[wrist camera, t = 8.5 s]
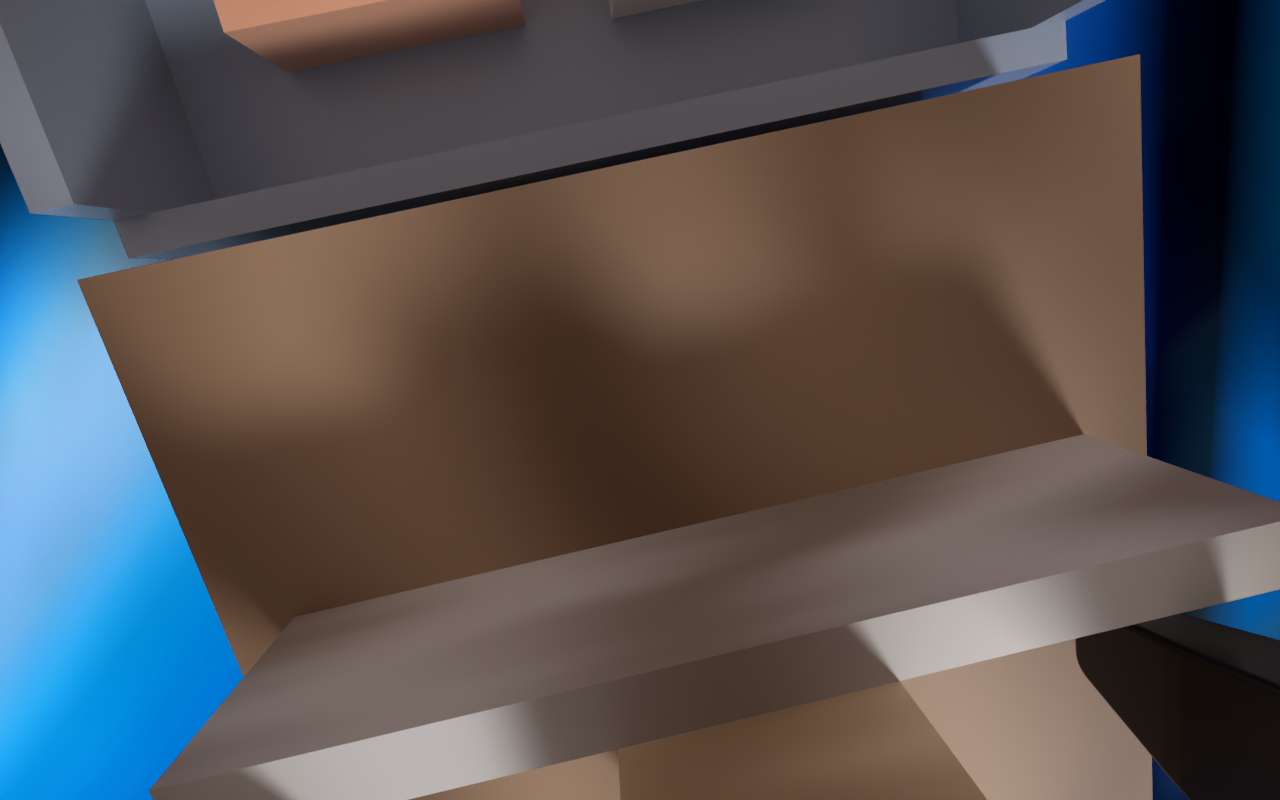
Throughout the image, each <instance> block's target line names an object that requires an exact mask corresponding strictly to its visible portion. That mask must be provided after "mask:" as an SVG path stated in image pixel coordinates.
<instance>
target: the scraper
mask: <svg viewBox="0 0 1280 800" xmlns="http://www.w3.org/2000/svg"><path fill="white" fill-rule="evenodd" d="M1279 589H1280V502H1277V501H1274V500H1272V499H1269V498H1266V497H1263V496H1260V495H1257V494H1254V493H1251V492H1249V491H1246V490H1243V489H1240V488H1237V487H1234V486H1231V485H1228V484H1226V483H1223V482H1220V481H1217V480H1214V479H1211V478H1208V477H1205V476H1203V475H1200V474H1197V473H1194V472H1191V471H1188V470H1185V469H1182V468H1180V467H1177V466H1174V465H1171V464H1168V463H1165V462H1162V461H1159V460H1157V459H1154V458H1151V457H1148V456H1145V455H1142V454H1139V453H1136V452H1134V451H1131V450H1128V449H1125V448H1122V447H1119V446H1116V445H1113V444H1111V443H1108V442H1105V441H1102V440H1099V439H1096V438H1093V437H1090V436H1088V435H1085V434H1082V435H1078V436H1074V437H1069V438H1065V439H1061V440H1056V441H1052V442H1048V443H1043V444H1039V445H1035V446H1030V447H1026V448H1022V449H1018V450H1013V451H1009V452H1005V453H1000V454H996V455H992V456H987V457H983V458H979V459H974V460H970V461H966V462H961V463H957V464H953V465H948V466H944V467H940V468H935V469H931V470H927V471H923V472H918V473H914V474H910V475H905V476H901V477H897V478H892V479H888V480H884V481H879V482H875V483H871V484H866V485H862V486H858V487H853V488H849V489H845V490H840V491H836V492H832V493H828V494H823V495H819V496H815V497H810V498H806V499H802V500H797V501H793V502H789V503H784V504H780V505H776V506H771V507H767V508H763V509H758V510H754V511H750V512H746V513H741V514H737V515H733V516H728V517H724V518H720V519H715V520H711V521H707V522H702V523H698V524H694V525H689V526H685V527H681V528H676V529H672V530H668V531H663V532H659V533H655V534H651V535H646V536H642V537H638V538H633V539H629V540H625V541H620V542H616V543H612V544H607V545H603V546H599V547H594V548H590V549H586V550H581V551H577V552H573V553H569V554H564V555H560V556H556V557H551V558H547V559H543V560H538V561H534V562H530V563H525V564H521V565H517V566H512V567H508V568H504V569H499V570H495V571H491V572H486V573H482V574H478V575H474V576H469V577H465V578H461V579H456V580H452V581H448V582H443V583H439V584H435V585H430V586H426V587H422V588H417V589H413V590H409V591H404V592H400V593H396V594H392V595H387V596H383V597H379V598H374V599H370V600H366V601H361V602H357V603H353V604H348V605H344V606H340V607H335V608H331V609H327V610H322V611H318V612H314V613H309V614H305V615H301V616H297V617H294V618H293V619H292V621H291V622H290V623H289V624H288V625H287V627H286V628H285V629H284V630H283V631H282V633H281V634H280V635H279V636H278V637H277V639H276V640H275V641H274V642H273V643H272V645H271V646H270V647H269V648H268V649H267V650H266V652H265V653H264V654H263V655H262V656H261V658H260V659H259V660H258V661H257V662H256V664H255V665H254V666H253V667H252V668H251V670H250V671H249V672H248V673H247V674H246V676H245V677H244V678H243V679H242V680H241V681H240V683H239V684H238V685H237V686H236V687H235V689H234V690H233V691H232V692H231V693H230V695H229V696H228V697H227V698H226V699H225V701H224V702H223V703H222V704H221V705H220V707H219V708H218V709H217V710H216V711H215V712H214V714H213V715H212V716H211V717H210V718H209V720H208V721H207V722H206V723H205V724H204V726H203V727H202V728H201V729H200V730H199V732H198V733H197V734H196V735H195V736H194V738H193V739H192V740H191V741H190V742H189V744H188V745H187V746H186V747H185V748H184V749H183V751H182V752H181V753H180V754H179V755H178V757H177V758H176V759H175V760H174V761H173V763H172V764H171V765H170V766H169V767H168V769H167V770H166V771H165V772H164V773H163V775H162V776H161V777H160V778H159V779H158V780H157V782H156V783H155V784H154V785H153V786H152V788H151V789H150V790H149V792H150V794H151V796H152V798H153V800H409V799H413V798H417V797H422V796H426V795H430V794H434V793H438V792H442V791H446V790H451V789H455V788H459V787H463V786H467V785H471V784H475V783H480V782H484V781H488V780H492V779H496V778H500V777H504V776H509V775H513V774H517V773H521V772H525V771H529V770H533V769H538V768H542V767H546V766H550V765H554V764H558V763H562V762H567V761H571V760H575V759H579V758H583V757H587V756H591V755H596V754H600V753H604V752H608V751H612V750H616V749H618V762H619V781H620V799H621V800H987V799H986V797H985V796H984V795H983V793H982V792H981V791H980V789H979V788H978V786H977V785H976V784H975V782H974V781H973V780H972V778H971V777H970V776H969V774H968V773H967V772H966V770H965V769H964V767H963V766H962V765H961V763H960V762H959V761H958V759H957V758H956V757H955V755H954V754H953V753H952V751H951V750H950V748H949V747H948V746H947V744H946V743H945V742H944V740H943V739H942V738H941V736H940V735H939V734H938V732H937V731H936V729H935V728H934V727H933V725H932V724H931V723H930V721H929V720H928V719H927V717H926V716H925V715H924V713H923V712H922V711H921V709H920V708H919V706H918V705H917V704H916V702H915V701H914V700H913V698H912V697H911V696H910V694H909V693H908V692H907V690H906V689H905V687H904V686H903V685H902V683H901V682H900V681H902V680H906V679H910V678H914V677H919V676H923V675H927V674H931V673H935V672H939V671H943V670H948V669H952V668H956V667H960V666H964V665H968V664H972V663H977V662H981V661H985V660H989V659H993V658H997V657H1001V656H1006V655H1010V654H1014V653H1018V652H1022V651H1026V650H1030V649H1034V648H1039V647H1043V646H1047V645H1051V644H1055V643H1059V642H1063V641H1068V640H1072V639H1076V638H1080V637H1084V636H1088V635H1092V634H1097V633H1101V632H1105V631H1109V630H1113V629H1117V628H1121V627H1126V626H1130V625H1134V624H1138V623H1142V622H1146V621H1150V620H1155V619H1159V618H1163V617H1167V616H1171V615H1175V614H1179V613H1184V612H1188V611H1192V610H1196V609H1200V608H1204V607H1208V606H1213V605H1217V604H1221V603H1225V602H1229V601H1233V600H1237V599H1242V598H1246V597H1250V596H1254V595H1258V594H1262V593H1266V592H1271V591H1275V590H1279Z"/></svg>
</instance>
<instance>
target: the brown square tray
mask: <svg viewBox="0 0 1280 800" xmlns="http://www.w3.org/2000/svg"><path fill="white" fill-rule="evenodd" d="M77 281H78V283H79V285H80V288H81V290H82V293H83V295H84V297H85V300H86V302H87V305H88V307H89V309H90V312H91V314H92V316H93V319H94V321H95V324H96V326H97V328H98V331H99V333H100V336H101V338H102V340H103V343H104V345H105V347H106V350H107V352H108V355H109V357H110V359H111V362H112V364H113V366H114V369H115V371H116V374H117V376H118V378H119V381H120V383H121V386H122V388H123V390H124V393H125V395H126V397H127V400H128V402H129V405H130V407H131V409H132V412H133V414H134V417H135V419H136V421H137V424H138V426H139V428H140V431H141V433H142V436H143V438H144V440H145V443H146V445H147V447H148V450H149V452H150V455H151V457H152V459H153V462H154V464H155V467H156V469H157V471H158V474H159V476H160V478H161V481H162V483H163V486H164V488H165V490H166V493H167V495H168V497H169V500H170V502H171V505H172V507H173V509H174V512H175V514H176V517H177V519H178V521H179V524H180V526H181V528H182V531H183V533H184V536H185V538H186V540H187V543H188V545H189V548H190V550H191V552H192V555H193V557H194V559H195V562H196V564H197V567H198V569H199V571H200V574H201V576H202V578H203V581H204V583H205V586H206V588H207V590H208V593H209V595H210V598H211V600H212V602H213V605H214V607H215V609H216V612H217V614H218V617H219V619H220V621H221V624H222V626H223V628H224V631H225V633H226V636H227V638H228V640H229V643H230V645H231V648H232V650H233V652H234V655H235V657H236V659H237V662H238V664H239V667H240V669H241V671H242V674H243V676H244V677H245V676H246V674H247V673H248V672H249V671H250V670H251V668H252V667H253V666H254V665H255V664H256V662H257V661H258V660H259V659H260V658H261V656H262V655H263V654H264V653H265V652H266V650H267V649H268V648H269V647H270V646H271V645H272V643H273V642H274V641H275V640H276V639H277V637H278V636H279V635H280V634H281V633H282V631H283V630H284V629H285V628H286V627H287V625H288V624H289V623H290V622H291V621H292V619H293V618H294V617H297V616H301V615H305V614H309V613H314V612H318V611H322V610H327V609H331V608H335V607H340V606H344V605H348V604H353V603H357V602H361V601H366V600H370V599H374V598H379V597H383V596H387V595H392V594H396V593H400V592H404V591H409V590H413V589H417V588H422V587H426V586H430V585H435V584H439V583H443V582H448V581H452V580H456V579H461V578H465V577H469V576H474V575H478V574H482V573H486V572H491V571H495V570H499V569H504V568H508V567H512V566H517V565H521V564H525V563H530V562H534V561H538V560H543V559H547V558H551V557H556V556H560V555H564V554H569V553H573V552H577V551H581V550H586V549H590V548H594V547H599V546H603V545H607V544H612V543H616V542H620V541H625V540H629V539H633V538H638V537H642V536H646V535H651V534H655V533H659V532H663V531H668V530H672V529H676V528H681V527H685V526H689V525H694V524H698V523H702V522H707V521H711V520H715V519H720V518H724V517H728V516H733V515H737V514H741V513H746V512H750V511H754V510H758V509H763V508H767V507H771V506H776V505H780V504H784V503H789V502H793V501H797V500H802V499H806V498H810V497H815V496H819V495H823V494H828V493H832V492H836V491H840V490H845V489H849V488H853V487H858V486H862V485H866V484H871V483H875V482H879V481H884V480H888V479H892V478H897V477H901V476H905V475H910V474H914V473H918V472H923V471H927V470H931V469H935V468H940V467H944V466H948V465H953V464H957V463H961V462H966V461H970V460H974V459H979V458H983V457H987V456H992V455H996V454H1000V453H1005V452H1009V451H1013V450H1018V449H1022V448H1026V447H1030V446H1035V445H1039V444H1043V443H1048V442H1052V441H1056V440H1061V439H1065V438H1069V437H1074V436H1078V435H1082V434H1085V435H1088V436H1090V437H1093V438H1096V439H1099V440H1102V441H1105V442H1108V443H1111V444H1113V445H1116V446H1119V447H1122V448H1125V449H1128V450H1131V451H1134V452H1136V453H1139V454H1142V455H1145V456H1147V441H1146V381H1145V320H1144V260H1143V200H1142V139H1141V79H1140V54H1138V55H1133V56H1129V57H1124V58H1119V59H1115V60H1110V61H1105V62H1100V63H1096V64H1091V65H1086V66H1082V67H1077V68H1072V69H1067V70H1063V71H1058V72H1053V73H1049V74H1044V75H1039V76H1035V77H1030V78H1025V79H1020V80H1016V81H1011V82H1006V83H1002V84H997V85H992V86H987V87H983V88H978V89H973V90H969V91H964V92H959V93H955V94H950V95H945V96H940V97H936V98H931V99H926V100H922V101H917V102H912V103H907V104H903V105H898V106H893V107H889V108H884V109H879V110H875V111H870V112H865V113H860V114H856V115H851V116H846V117H842V118H837V119H832V120H827V121H823V122H818V123H813V124H809V125H804V126H799V127H795V128H790V129H785V130H780V131H776V132H771V133H766V134H762V135H757V136H752V137H747V138H743V139H738V140H733V141H729V142H724V143H719V144H714V145H710V146H705V147H700V148H696V149H691V150H686V151H682V152H677V153H672V154H667V155H663V156H658V157H653V158H649V159H644V160H639V161H634V162H630V163H625V164H620V165H616V166H611V167H606V168H602V169H597V170H592V171H587V172H583V173H578V174H573V175H569V176H564V177H559V178H554V179H550V180H545V181H540V182H536V183H531V184H526V185H522V186H517V187H512V188H507V189H503V190H498V191H493V192H489V193H484V194H479V195H474V196H470V197H465V198H460V199H456V200H451V201H446V202H442V203H437V204H432V205H427V206H423V207H418V208H413V209H409V210H404V211H399V212H394V213H390V214H385V215H380V216H376V217H371V218H366V219H362V220H357V221H352V222H347V223H343V224H338V225H333V226H329V227H324V228H319V229H314V230H310V231H305V232H300V233H296V234H291V235H286V236H281V237H277V238H272V239H267V240H263V241H258V242H253V243H249V244H244V245H239V246H234V247H230V248H225V249H220V250H216V251H211V252H206V253H201V254H197V255H192V256H187V257H183V258H178V259H173V260H169V261H164V262H159V263H154V264H150V265H145V266H140V267H136V268H131V269H126V270H121V271H117V272H112V273H107V274H103V275H98V276H93V277H89V278H84V279H79V280H77ZM900 682H901V683H902V685H903V686H904V687H905V689H906V690H907V692H908V693H909V694H910V696H911V697H912V698H913V700H914V701H915V702H916V704H917V705H918V706H919V708H920V709H921V711H922V712H923V713H924V715H925V716H926V717H927V719H928V720H929V721H930V723H931V724H932V725H933V727H934V728H935V729H936V731H937V732H938V734H939V735H940V736H941V738H942V739H943V740H944V742H945V743H946V744H947V746H948V747H949V748H950V750H951V751H952V753H953V754H954V755H955V757H956V758H957V759H958V761H959V762H960V763H961V765H962V766H963V767H964V769H965V770H966V772H967V773H968V774H969V776H970V777H971V778H972V780H973V781H974V782H975V784H976V785H977V786H978V788H979V789H980V791H981V792H982V793H983V795H984V796H985V797H986V799H987V800H1152V756H1151V755H1150V753H1149V752H1148V751H1147V750H1146V749H1145V747H1144V746H1143V745H1142V744H1141V743H1140V741H1139V740H1138V739H1137V738H1136V737H1135V735H1134V734H1133V733H1132V732H1131V731H1130V729H1129V728H1128V727H1127V726H1126V725H1125V723H1124V722H1123V721H1122V720H1121V718H1120V717H1119V716H1118V715H1117V714H1116V712H1115V711H1114V710H1113V709H1112V708H1111V706H1110V705H1109V704H1108V703H1107V702H1106V700H1105V699H1104V698H1103V697H1102V696H1101V694H1100V693H1099V692H1098V691H1097V690H1096V688H1095V687H1094V686H1093V685H1092V684H1091V682H1090V681H1089V680H1088V679H1087V677H1086V676H1085V675H1084V673H1083V672H1082V670H1081V668H1080V666H1079V664H1078V661H1077V657H1076V646H1075V639H1072V640H1068V641H1063V642H1059V643H1055V644H1051V645H1047V646H1043V647H1039V648H1034V649H1030V650H1026V651H1022V652H1018V653H1014V654H1010V655H1006V656H1001V657H997V658H993V659H989V660H985V661H981V662H977V663H972V664H968V665H964V666H960V667H956V668H952V669H948V670H943V671H939V672H935V673H931V674H927V675H923V676H919V677H914V678H910V679H906V680H902V681H900ZM409 800H621V799H620V781H619V762H618V749H616V750H612V751H608V752H604V753H600V754H596V755H591V756H587V757H583V758H579V759H575V760H571V761H567V762H562V763H558V764H554V765H550V766H546V767H542V768H538V769H533V770H529V771H525V772H521V773H517V774H513V775H509V776H504V777H500V778H496V779H492V780H488V781H484V782H480V783H475V784H471V785H467V786H463V787H459V788H455V789H451V790H446V791H442V792H438V793H434V794H430V795H426V796H422V797H417V798H413V799H409Z"/></svg>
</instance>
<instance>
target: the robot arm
mask: <svg viewBox="0 0 1280 800" xmlns="http://www.w3.org/2000/svg"><path fill="white" fill-rule="evenodd" d="M1075 646H1076V657H1077V661H1078V664H1079V666H1080V668H1081V670H1082V672H1083V673H1084V675H1085V676H1086V677H1087V679H1088V680H1089V681H1090V682H1091V684H1092V685H1093V686H1094V687H1095V688H1096V690H1097V691H1098V692H1099V693H1100V694H1101V696H1102V697H1103V698H1104V699H1105V700H1106V702H1107V703H1108V704H1109V705H1110V706H1111V708H1112V709H1113V710H1114V711H1115V712H1116V714H1117V715H1118V716H1119V717H1120V718H1121V720H1122V721H1123V722H1124V723H1125V725H1126V726H1127V727H1128V728H1129V729H1130V731H1131V732H1132V733H1133V734H1134V735H1135V737H1136V738H1137V739H1138V740H1139V741H1140V743H1141V744H1142V745H1143V746H1144V747H1145V749H1146V750H1147V751H1148V752H1149V753H1150V755H1151V756H1152V757H1153V758H1154V759H1155V761H1156V762H1157V763H1158V764H1159V765H1160V767H1161V768H1162V769H1163V770H1164V771H1165V773H1166V774H1167V775H1168V776H1169V777H1170V778H1171V779H1172V781H1173V782H1174V783H1175V784H1176V785H1177V786H1178V787H1179V789H1180V790H1181V791H1182V792H1183V793H1184V794H1185V795H1186V796H1187V797H1188V798H1189V799H1190V800H1280V640H1276V639H1273V638H1269V637H1265V636H1262V635H1258V634H1254V633H1250V632H1247V631H1243V630H1239V629H1236V628H1232V627H1228V626H1225V625H1221V624H1217V623H1213V622H1210V621H1206V620H1202V619H1199V618H1195V617H1191V616H1188V615H1184V614H1180V613H1179V614H1175V615H1171V616H1167V617H1163V618H1159V619H1155V620H1150V621H1146V622H1142V623H1138V624H1134V625H1130V626H1126V627H1121V628H1117V629H1113V630H1109V631H1105V632H1101V633H1097V634H1092V635H1088V636H1084V637H1080V638H1076V639H1075Z"/></svg>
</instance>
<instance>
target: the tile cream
mask: <svg viewBox="0 0 1280 800" xmlns="http://www.w3.org/2000/svg"><path fill="white" fill-rule="evenodd" d="M696 1H701V0H608V2H609V7H610V12H611V17H612V19H614V18H619V17H624V16H629V15H634V14H638V13H643V12H648V11H653V10H658V9H663V8H667V7H672V6H677V5H682V4H687V3H691V2H696Z"/></svg>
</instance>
